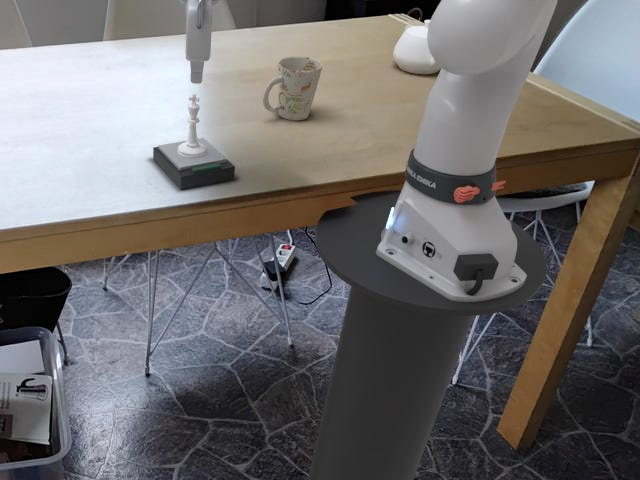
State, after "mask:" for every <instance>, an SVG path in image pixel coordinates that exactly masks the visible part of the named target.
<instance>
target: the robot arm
mask: <svg viewBox="0 0 640 480" xmlns="http://www.w3.org/2000/svg"><path fill="white" fill-rule="evenodd" d="M178 2H179V3H180V4H182V5H184V8H185V19H186V20H185V21H186V22H185V23H186V24H185V50H184V51H185V59H186V61H188V62H190V83H192V84H198V85H199V84H202V83H203V74H204V73H203V72H204V66H205V62H208V61H210V58H211V51H212V34H213V33H212V31H213V6H215V5H218V4H219V3H220V2H221V0H178ZM557 4H558V0H440V2H439V4H438V5H437V7H436V9H435V11H434V12H433V14H432V15H431V18H430V19H429V20H430V23H429V27H428V33H427V41H428V47H429V51H430V53H431V55H432V57H433V59H434V60H435V62H436V63H437V64H438V65H439V66H440V67H441V69H440V70H439V73H438V75H437V77H436V79H435V82H434V84H433V86H432V87H431V90H430V91H429V93H428V96H427V98H426V101H425V106H424V109H423V113H422V118H421V121H420V125H419V129H418V132H417V136H416V140H415V144H414V147H413V148H412V149H411V150H410V152H409V155H408V159H407V160H406V164H405V170H404V182H403V183H404V184H403V186H402V188H401V190H402V191H401V193H400V195H399V198H398V200H397V203H396V205H395V208H393V207H392V209H391V213H390V216H389V219H388V222H387V225H386V226H385V228H384V229H383V231H382V233H381V243H380V244H379V245H378V248H377V250H376V254H377V256H379V257H380V258H382V259H384V260H385V261H387V262H388V263H390V264H392V265H393V266H395V267H397V268H398V269H400V270H402V271H403V272H405V273H406V274H408V275H410V276H411V277H413V278H415V279H416V280H418V281H420V282H421V283H423V284H424V285H426V286H428V287H429V288H431V289H433V290H434V291H436V292H438V293H439V294H441V295H442V296H444V297H446V298H448V299H449V300H452V301H458V302H478V301H485V300H491V299H494V298H498V297H502V296H505V295H508V294H510V293H513V292H515V291H516V290H518V289H519V288H521V287H522V286H523V285H524V283H525V281H526V277H527V275H526V273H525V272H524V271H523V270H522V269H521V268H520V267H519V266H518V265H517V264H516V263H514V261H515V256H516V252H517V238H516V236H515V234H514V232H513V231H512V226H511V223H510V221H509V220H510V219H509V220H507V219H506V218H507V217H506V215H505V214H504V211H503V209H502V208H501V207H502V206H501V205H500V203H499V202H498V200H497V198H496V194H497V190H501V189H505V187H504V186H503V185H504V184H506V182H507V181H506V180H501V181H497V164H496V161H497V157H498V154H499V151H500V148H501V145H502V142H503V139H504V136H505V134H506V130H507V128H508V125H509V121H510V119H511V116H512V113H513V110H514V108H515V106H516V103H517V101H518V99H519V97H520V95H521V93H522V90H523V88H524V86H525V83H526V81H527V78H528V76H529V74H530V72H531V70H532V68H533V65H534V63H535V60H536V58H537V55H538V53H539V50H540V49H541V46H542V43H543V41H544V38H545V35H546V33H547V31H548V28H549V25H550V23H551V20H552V17H553V15H554V13H555V10H556V8H557Z"/></svg>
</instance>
